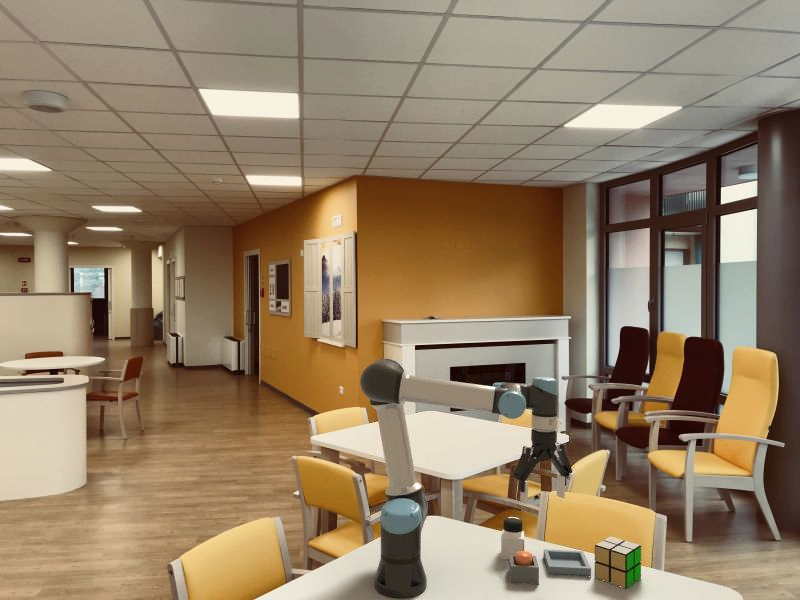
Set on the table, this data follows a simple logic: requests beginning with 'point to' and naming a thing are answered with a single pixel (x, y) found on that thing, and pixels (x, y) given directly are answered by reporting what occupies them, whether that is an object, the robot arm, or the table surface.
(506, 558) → the medicine bottle
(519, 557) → the button
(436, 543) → the table surface
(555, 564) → the tray
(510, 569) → the button housing
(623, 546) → the puzzle cube
